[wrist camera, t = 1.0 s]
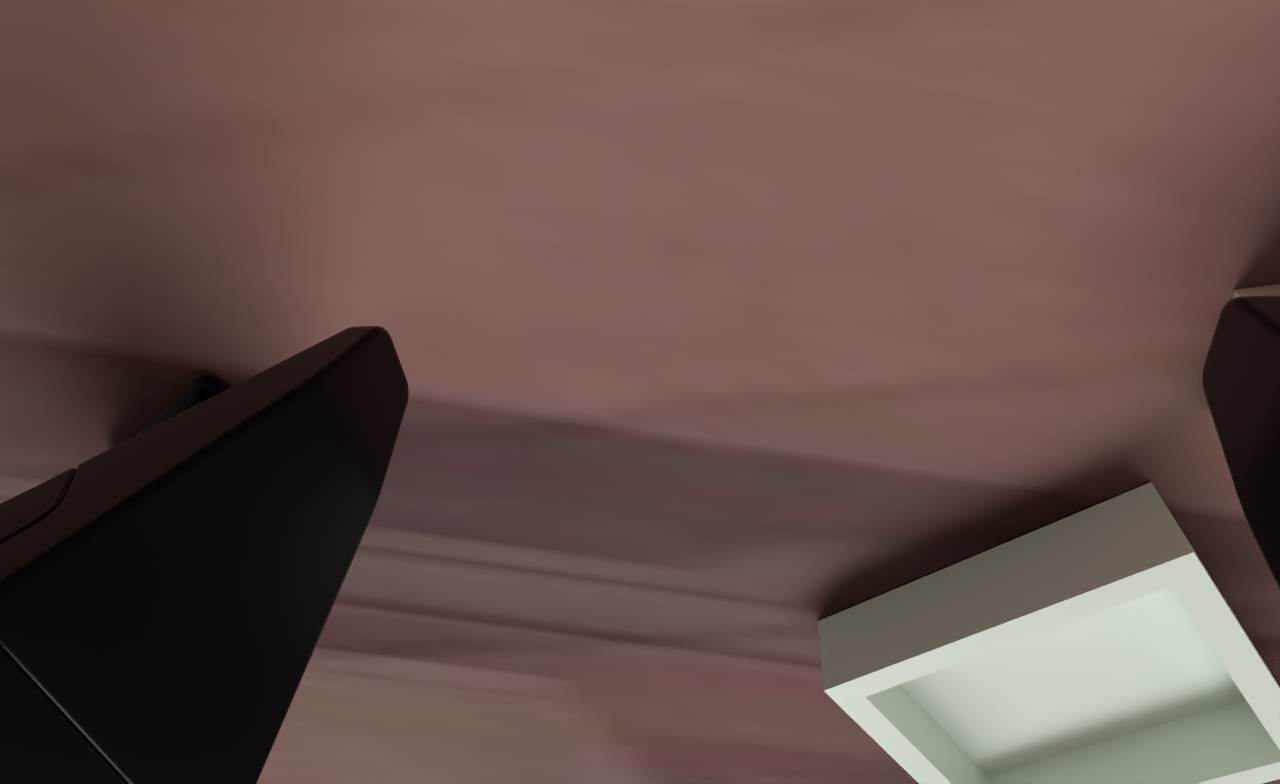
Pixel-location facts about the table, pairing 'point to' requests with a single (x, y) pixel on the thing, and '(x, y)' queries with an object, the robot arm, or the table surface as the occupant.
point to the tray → (1062, 662)
